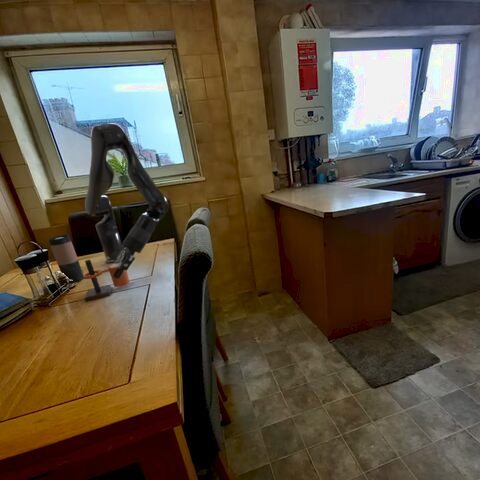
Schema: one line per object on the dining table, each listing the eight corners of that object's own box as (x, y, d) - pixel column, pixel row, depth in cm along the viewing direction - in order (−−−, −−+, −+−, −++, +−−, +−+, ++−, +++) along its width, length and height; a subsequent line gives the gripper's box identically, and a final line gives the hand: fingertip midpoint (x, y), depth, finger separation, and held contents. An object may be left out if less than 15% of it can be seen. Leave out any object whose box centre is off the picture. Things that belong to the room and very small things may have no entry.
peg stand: (89, 293, 109) (77, 259, 104) (111, 287, 112) (100, 255, 107) (86, 301, 102) (72, 266, 97) (109, 295, 105) (98, 261, 100)
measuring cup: (127, 279, 115) (122, 261, 112) (131, 283, 110) (125, 264, 108) (88, 291, 107) (81, 272, 105) (90, 296, 103) (83, 276, 100)
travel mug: (88, 275, 129) (73, 234, 122) (76, 283, 122) (59, 239, 115) (73, 276, 130) (57, 235, 123) (60, 283, 123) (43, 240, 116)
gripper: (124, 231, 114) (101, 267, 112) (132, 236, 103) (107, 276, 101) (141, 240, 119) (119, 274, 117) (150, 246, 108) (127, 284, 106)
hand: (114, 275), depth 109 cm, fingers closed on measuring cup, 6 cm apart
